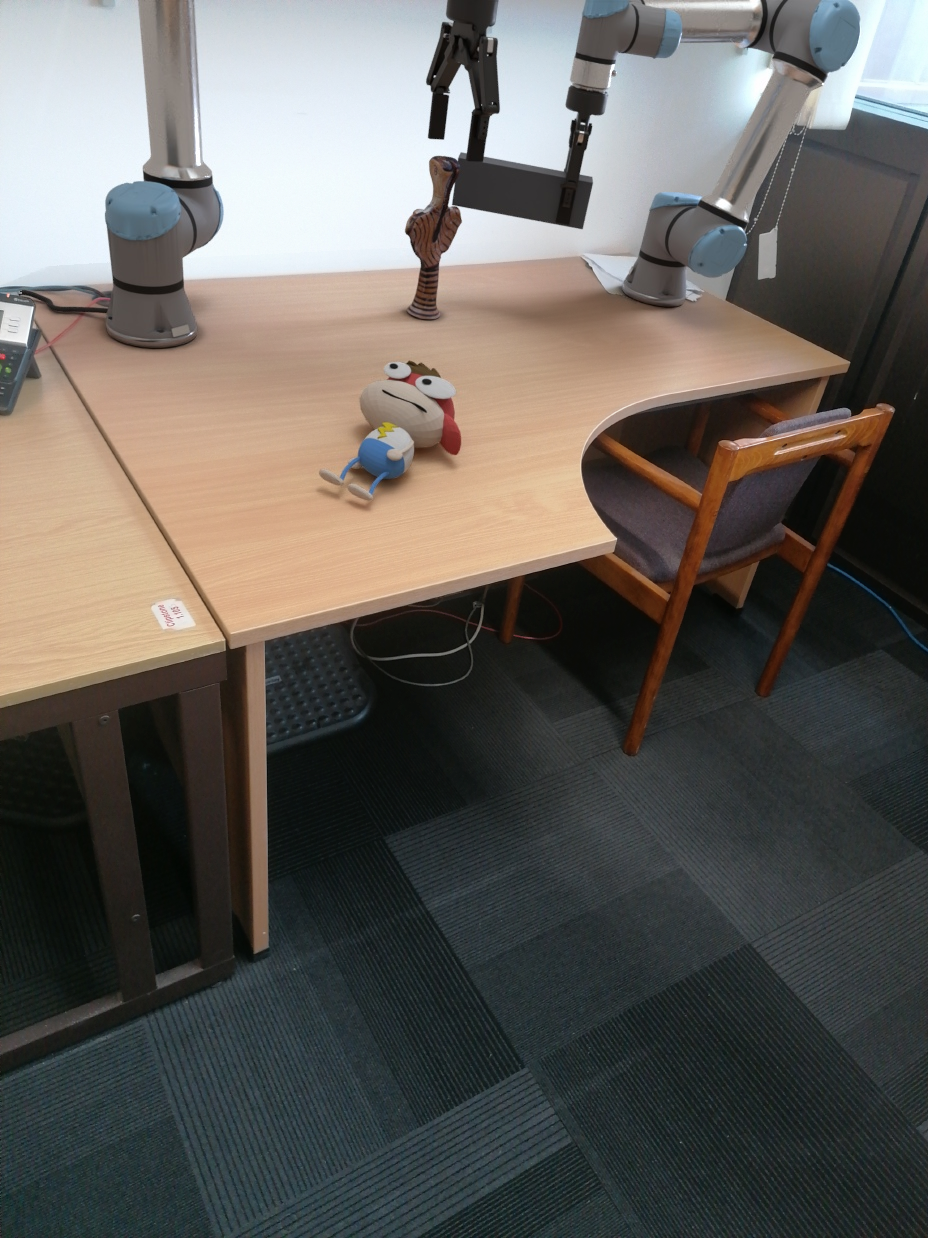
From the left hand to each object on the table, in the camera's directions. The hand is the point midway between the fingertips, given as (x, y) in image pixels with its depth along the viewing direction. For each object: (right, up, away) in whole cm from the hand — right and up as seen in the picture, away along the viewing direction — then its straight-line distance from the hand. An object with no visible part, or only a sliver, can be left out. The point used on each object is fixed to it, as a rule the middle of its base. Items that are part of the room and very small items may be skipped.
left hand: (454, 149), depth 144 cm
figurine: (-7, -13, +40) cm, 42 cm away
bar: (+12, +6, +35) cm, 37 cm away
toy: (-10, -51, -8) cm, 53 cm away
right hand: (+21, +4, +35) cm, 41 cm away
